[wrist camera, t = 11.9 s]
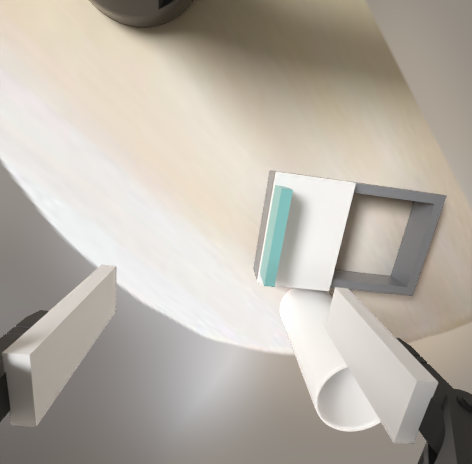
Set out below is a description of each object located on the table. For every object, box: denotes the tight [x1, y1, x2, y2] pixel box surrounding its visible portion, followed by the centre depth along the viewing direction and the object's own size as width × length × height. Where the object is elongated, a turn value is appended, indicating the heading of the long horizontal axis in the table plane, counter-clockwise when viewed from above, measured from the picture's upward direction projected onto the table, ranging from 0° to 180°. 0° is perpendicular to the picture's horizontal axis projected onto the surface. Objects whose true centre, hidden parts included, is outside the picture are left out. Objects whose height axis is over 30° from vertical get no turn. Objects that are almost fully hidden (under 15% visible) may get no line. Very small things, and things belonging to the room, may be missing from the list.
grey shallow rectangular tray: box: [254, 170, 446, 296], centre depth 36 cm, size 14×22×4 cm, turn 82°
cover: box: [257, 172, 356, 291], centre depth 31 cm, size 14×9×4 cm
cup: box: [280, 288, 381, 431], centre depth 33 cm, size 8×8×16 cm
